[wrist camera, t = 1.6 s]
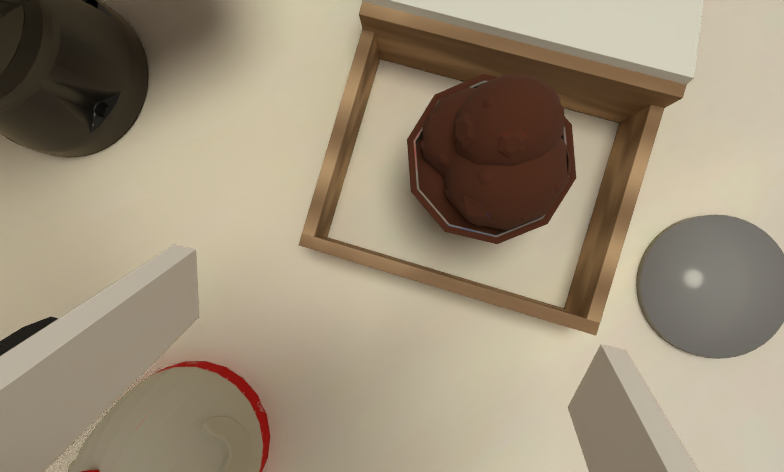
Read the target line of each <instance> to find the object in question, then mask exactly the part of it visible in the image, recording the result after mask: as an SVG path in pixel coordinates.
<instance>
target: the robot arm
mask: <svg viewBox="0 0 784 472" xmlns="http://www.w3.org/2000/svg"><path fill="white" fill-rule="evenodd" d="M147 84H148V67H147V60H146V56H145V52H144V49H143V46H142V44H141V42H140V40H139V38H138V36H137V34H136V33H135V31H134V30H133V28H132V27H131V26H130V24H129V23H128V22H127V21H126V20H125V19H124V18H123V17H121V16H120V15H119V14H118V13H116V12H115V11H114V10H112V9H111V8H110V7H108V6H107V5H106V4H104V3H103V2H102V1H100V0H0V134H2V135H3V136H5V137H6V138H8V139H9V140H11V141H13V142H14V143H16V144H19V145H21V146H23V147H26V148H29V149H32V150H35V151H39V152H44V153H48V154H52V155H56V156H63V157H78V156H84V155H89V154H92V153H95V152H98V151H100V150H102V149H104V148H106V147H108V146H109V145H111V144H113V143H114V142H115V141H117V140H118V139H119V138H120V137H121V136H122V135H123V134H124V133H125V132H126V131H127V130H128V129H129V128H130V126H131V125H132V124H133V122H134V121H135V119H136V118H137V116H138V114H139V112H140V110H141V107H142V105H143V102H144V99H145V95H146V90H147ZM198 318H199V302H198V281H197V260H196V249H192V248H188V247H183V246H179V245H175V244H174V245H172V246H170V247H169V248H167V249H166V250H164V251H163V252H161V253H160V254H158V255H156V256H155V257H153V258H152V259H150V260H149V261H147V262H146V263H144V264H143V265H141V266H139V267H138V268H136V269H135V270H133V271H132V272H130V273H129V274H127V275H125V276H124V277H122V278H121V279H119V280H118V281H116V282H115V283H113V284H112V285H110V286H108V287H107V288H105V289H104V290H102V291H101V292H99V293H98V294H96V295H94V296H93V297H91V298H90V299H88V300H87V301H85V302H84V303H82V304H81V305H79V306H77V307H76V308H74V309H73V310H71V311H70V312H68V313H67V314H65V315H63V316H62V317H60V318H59V319H58V318H54V317H49V318H46V319H43V320H41V321H38V322H36V323H33V324H30V325H28V326H25V327H23V328H21V329H19V330H18V331H16V332H15V333H13V334H11V335H10V336H8V337H6V338H5V339H3V340H1V341H0V472H44V471H45V470H46V469H47V468H48V467H49V466H50V465H51V464H52V463H53V462H54V461H55V460H56V459H57V458H58V457H59V456H60V455H61V454H62V453H63V452H64V451H65V450H66V449H67V448H68V447H69V446H70V445H71V444H72V443H73V442H74V441H75V440H76V439H77V438H78V437H79V436H80V435H81V434H82V433H83V432H84V431H85V430H86V429H87V428H88V427H89V426H90V425H91V424H92V423H93V422H94V421H95V420H96V419H97V418H98V417H99V416H100V415H101V414H102V413H103V412H104V411H105V410H106V409H107V408H108V407H109V406H110V405H111V404H112V403H113V402H114V401H115V400H116V399H117V398H118V397H119V396H120V395H121V394H122V393H123V392H124V391H125V390H126V389H127V388H128V387H129V386H130V385H131V384H132V383H133V382H134V381H136V380H137V379H138V378H139V377H140V376H141V375H142V374H143V373H144V372H145V371H146V370H147V369H148V368H149V367H150V366H151V365H152V364H153V363H154V362H155V361H156V360H157V359H158V358H159V357H160V356H161V355H162V354H163V353H164V352H165V351H166V350H167V349H168V348H169V347H170V346H171V345H172V344H173V343H174V342H175V341H176V340H177V339H178V338H179V337H180V336H181V335H182V334H183V333H184V332H185V331H186V330H187V329H188V328H189V327H190V326H191V325H192V324H193V323H194V322H195V321H196V320H197V319H198ZM568 410H569V413H570V416H571V419H572V422H573V425H574V428H575V431H576V434H577V437H578V440H579V443H580V446H581V449H582V452H583V455H584V458H585V461H586V464H587V467H588V470H589V472H699V470H698V468H697V467H696V465H695V463H694V462H693V460H692V458H691V457H690V455H689V453H688V452H687V450H686V449H685V447H684V445H683V444H682V442H681V440H680V439H679V437H678V435H677V434H676V432H675V430H674V429H673V427H672V425H671V424H670V422H669V420H668V419H667V417H666V415H665V414H664V412H663V410H662V409H661V407H660V405H659V404H658V402H657V400H656V399H655V397H654V396H653V394H652V392H651V391H650V389H649V387H648V386H647V384H646V382H645V381H644V379H643V377H642V376H641V374H640V372H639V371H638V369H637V367H636V366H635V364H634V362H633V361H632V359H631V357H630V356H629V354H628V352H627V351H626V350H623V349H619V348H614V347H610V346H606V345H602V344H601V345H600V347H599V349H598V351H597V353H596V355H595V356H594V358H593V360H592V362H591V364H590V366H589V368H588V370H587V372H586V373H585V375H584V377H583V379H582V381H581V383H580V385H579V387H578V389H577V390H576V392H575V394H574V396H573V398H572V400H571V402H570V404H569V406H568Z"/></svg>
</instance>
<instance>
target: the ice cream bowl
mask: <svg viewBox="0 0 784 472" xmlns="http://www.w3.org/2000/svg"><path fill="white" fill-rule="evenodd" d="M407 145H408V158H409V172H410V185H411V192H412V193H413V194H414V196H415V197H416V198H417V199H418V200H419V202H420V203H421V204H422V205H423V206H424V207H425V209H426V210H427V211H428V212H429V213H430V214H431V216H432V217H433V218H434V219H435V220H436V221H437V223H438V224H439V225H440V226H441V227H442V228H443V230H444V231H445V232H449V233H453V234H458V235H462V236H466V237H470V238H474V239H478V240H482V241H486V242H491V243H495V244H499V243H501V242H504V241H506V240H509V239H511V238H513V237H516V236H518V235H521V234H523V233H526V232H528V231H531V230H533V229H536V228H538V227H541V226H543V225H546V224H548V222H549V221H550V219H551V217H552V216H553V214H554V213H555V211H556V209H557V208H558V206H559V205H560V203H561V201H562V200H563V198H564V197H565V195H566V194H567V192H568V190H569V189H570V187H571V186H572V184H573V182H574V181H575V179H576V170H575V158H574V146H573V134H572V124H571V123H570V122H569V121H568V120H567V119H566V118H565V117H564V108H563V107H562V105H561V103H560V98H559V96H558V95H557V93H556V92H555V91H554V90H553V89H552V88H550V86H548V85H546V84H545V83H543V82H542V81H541V80H539V79H538V78H536V77H535V76H529V75H513V74H504V75H502V76H499V77H496V76H492V75H487V74H482V75H480V76H477V77H475V78H473V79H470V80H468V81H466V82H463V83H461V84H459V85H456V86H454V87H452V88H449V89H447V90H445V91H442V92H440V93H438V94H435V95H434V97H433V98H432V100H431V102H430V103H429V105H428V107H427V108H426V110H425V111H424V113H423V115H422V116H421V118H420V120H419V121H418V123H417V124H416V126H415V128H414V129H413V131H412V132H411V134H410V136H409V137H408V139H407Z"/></svg>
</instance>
